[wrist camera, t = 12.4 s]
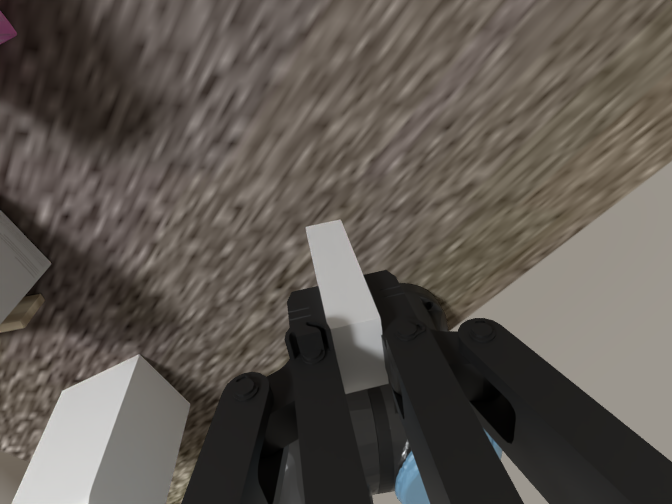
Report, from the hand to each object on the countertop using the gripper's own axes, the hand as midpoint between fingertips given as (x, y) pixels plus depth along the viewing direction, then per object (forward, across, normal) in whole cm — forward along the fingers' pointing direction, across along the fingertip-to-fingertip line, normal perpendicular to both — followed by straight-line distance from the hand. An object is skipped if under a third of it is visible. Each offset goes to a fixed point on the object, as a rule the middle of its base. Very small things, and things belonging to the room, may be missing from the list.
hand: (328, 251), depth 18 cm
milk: (+29, +30, +34) cm, 54 cm away
